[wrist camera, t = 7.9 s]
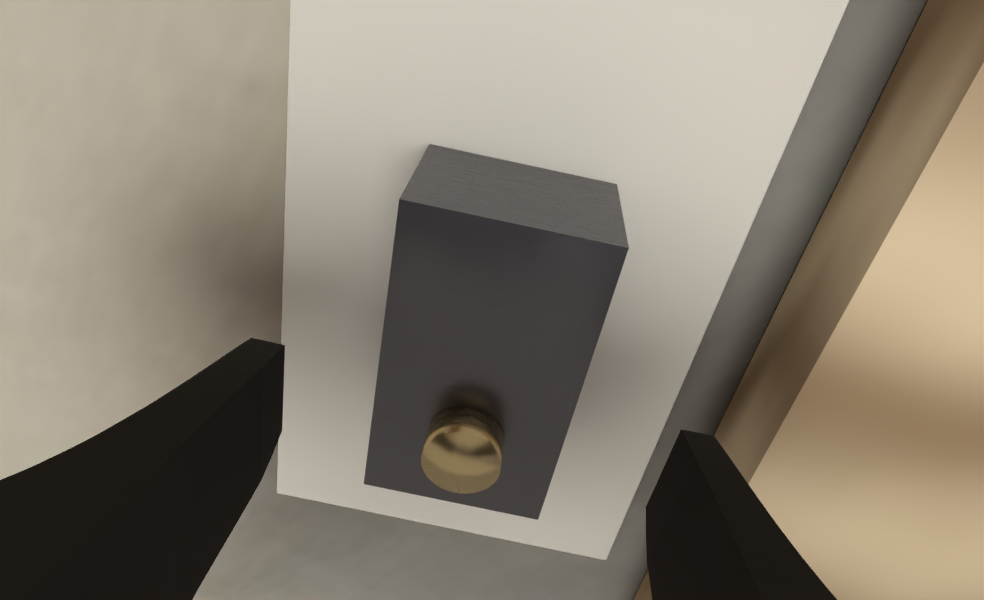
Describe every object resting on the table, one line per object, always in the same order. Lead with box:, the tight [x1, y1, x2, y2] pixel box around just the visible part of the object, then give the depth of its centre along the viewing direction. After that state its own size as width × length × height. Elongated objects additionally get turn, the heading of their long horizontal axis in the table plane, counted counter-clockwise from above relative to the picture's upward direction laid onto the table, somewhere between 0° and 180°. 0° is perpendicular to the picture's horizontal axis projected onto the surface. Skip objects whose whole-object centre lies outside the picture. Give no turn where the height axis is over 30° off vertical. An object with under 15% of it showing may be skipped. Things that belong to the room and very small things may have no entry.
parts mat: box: [277, 0, 849, 560], centre depth 16 cm, size 16×10×1 cm, turn 169°
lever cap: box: [364, 144, 629, 520], centre depth 14 cm, size 7×4×4 cm, turn 169°
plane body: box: [633, 0, 984, 600], centre depth 14 cm, size 22×7×5 cm, turn 169°
